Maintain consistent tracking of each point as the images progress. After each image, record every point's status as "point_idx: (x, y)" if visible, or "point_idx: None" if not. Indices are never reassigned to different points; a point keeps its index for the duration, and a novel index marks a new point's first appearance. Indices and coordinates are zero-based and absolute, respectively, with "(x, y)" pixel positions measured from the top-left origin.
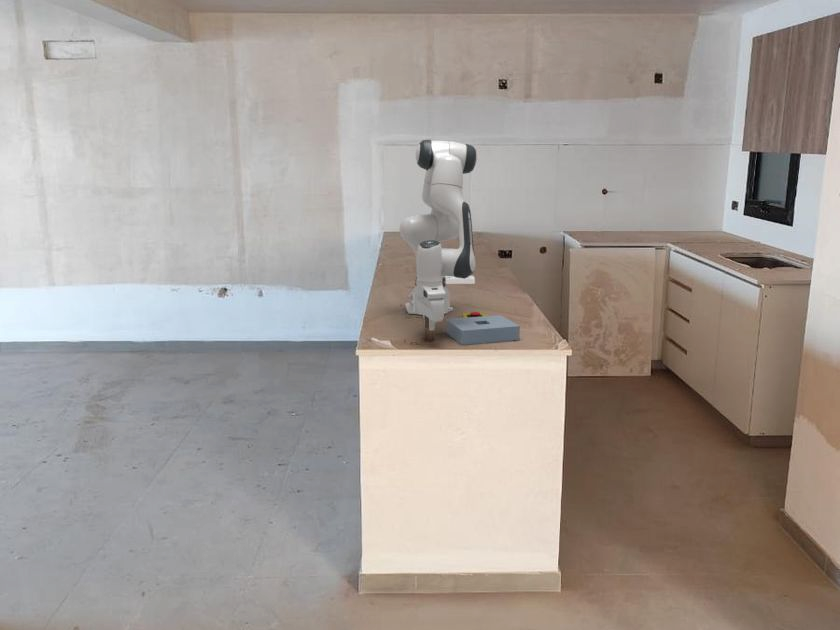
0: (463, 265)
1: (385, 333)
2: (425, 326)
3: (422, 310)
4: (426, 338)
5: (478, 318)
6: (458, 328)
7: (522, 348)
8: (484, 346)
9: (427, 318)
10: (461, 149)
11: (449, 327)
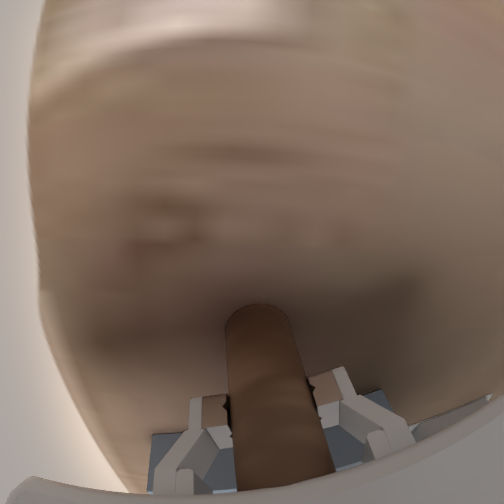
0: None
1: (460, 54)
2: (252, 389)
3: (375, 496)
4: (234, 324)
5: None
6: None
7: None
8: (148, 469)
9: (239, 472)
10: None
11: (340, 439)
